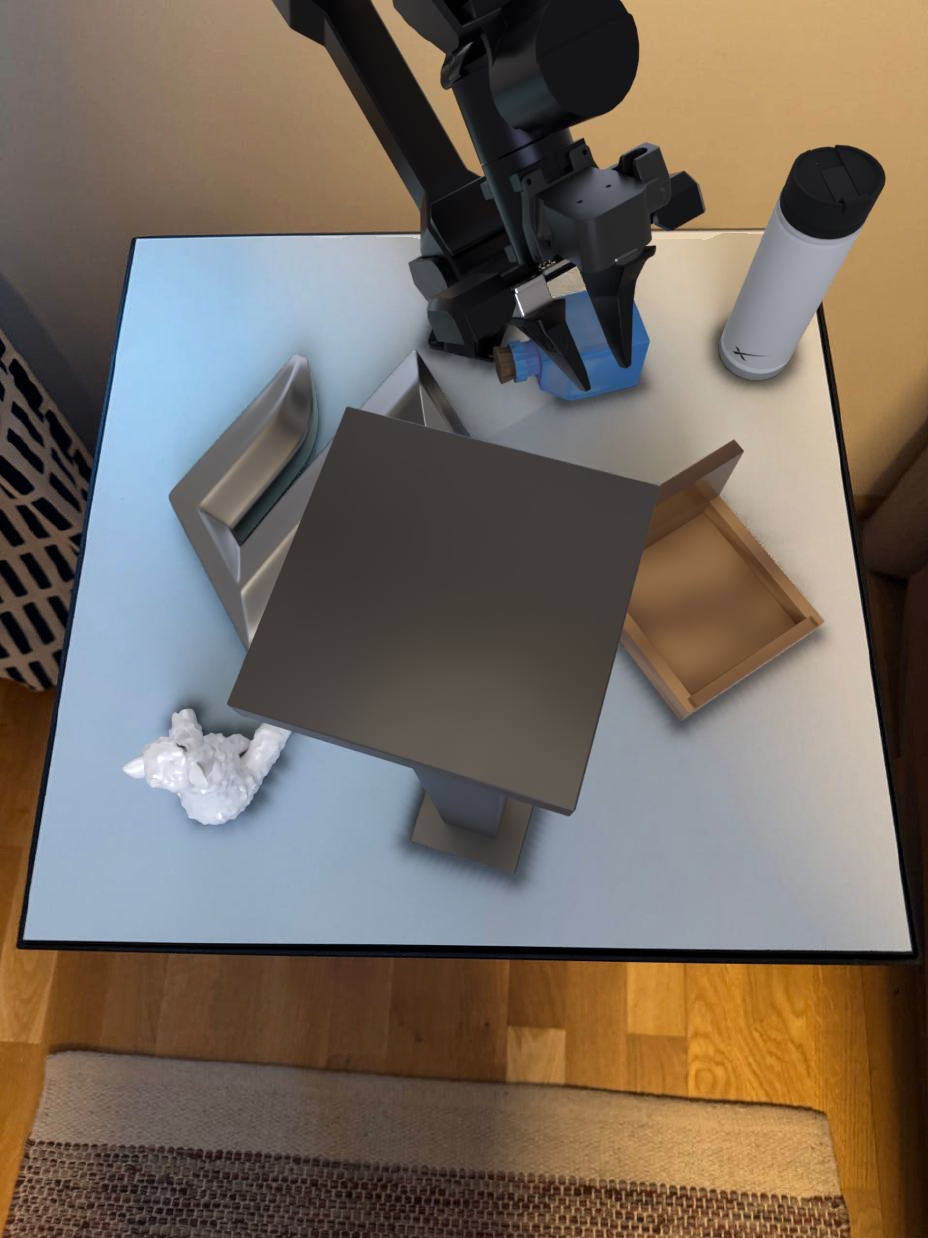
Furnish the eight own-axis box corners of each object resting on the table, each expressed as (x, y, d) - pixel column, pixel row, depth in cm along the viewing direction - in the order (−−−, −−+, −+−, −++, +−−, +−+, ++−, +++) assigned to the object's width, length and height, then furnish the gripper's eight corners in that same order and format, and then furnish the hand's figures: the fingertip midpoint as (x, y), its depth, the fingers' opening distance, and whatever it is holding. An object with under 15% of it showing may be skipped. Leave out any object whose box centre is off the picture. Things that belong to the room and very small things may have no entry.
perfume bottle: (616, 328, 76) (488, 358, 75) (626, 281, 70) (488, 312, 70) (637, 385, 74) (506, 415, 74) (650, 340, 68) (507, 373, 68)
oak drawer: (574, 580, 68) (588, 529, 59) (701, 500, 70) (734, 438, 61) (680, 721, 64) (712, 691, 55) (811, 633, 66) (864, 588, 57)
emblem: (188, 328, 71) (516, 340, 70) (208, 366, 76) (514, 378, 75) (124, 643, 62) (499, 664, 61) (151, 663, 67) (498, 682, 66)
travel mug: (730, 390, 74) (814, 214, 55) (709, 329, 76) (782, 139, 57) (799, 377, 74) (906, 197, 55) (775, 316, 76) (870, 123, 57)
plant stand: (443, 740, 65) (346, 404, 21) (543, 770, 64) (660, 485, 20) (410, 842, 62) (225, 704, 19) (514, 875, 61) (575, 811, 18)
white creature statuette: (298, 719, 65) (257, 681, 54) (282, 832, 63) (236, 817, 51) (179, 711, 66) (114, 672, 54) (158, 823, 63) (85, 806, 52)
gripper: (439, 199, 43) (548, 464, 50) (727, 46, 46) (790, 319, 53) (380, 217, 53) (478, 437, 60) (620, 90, 55) (686, 315, 63)
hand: (605, 378), depth 59 cm, fingers open, 3 cm apart
